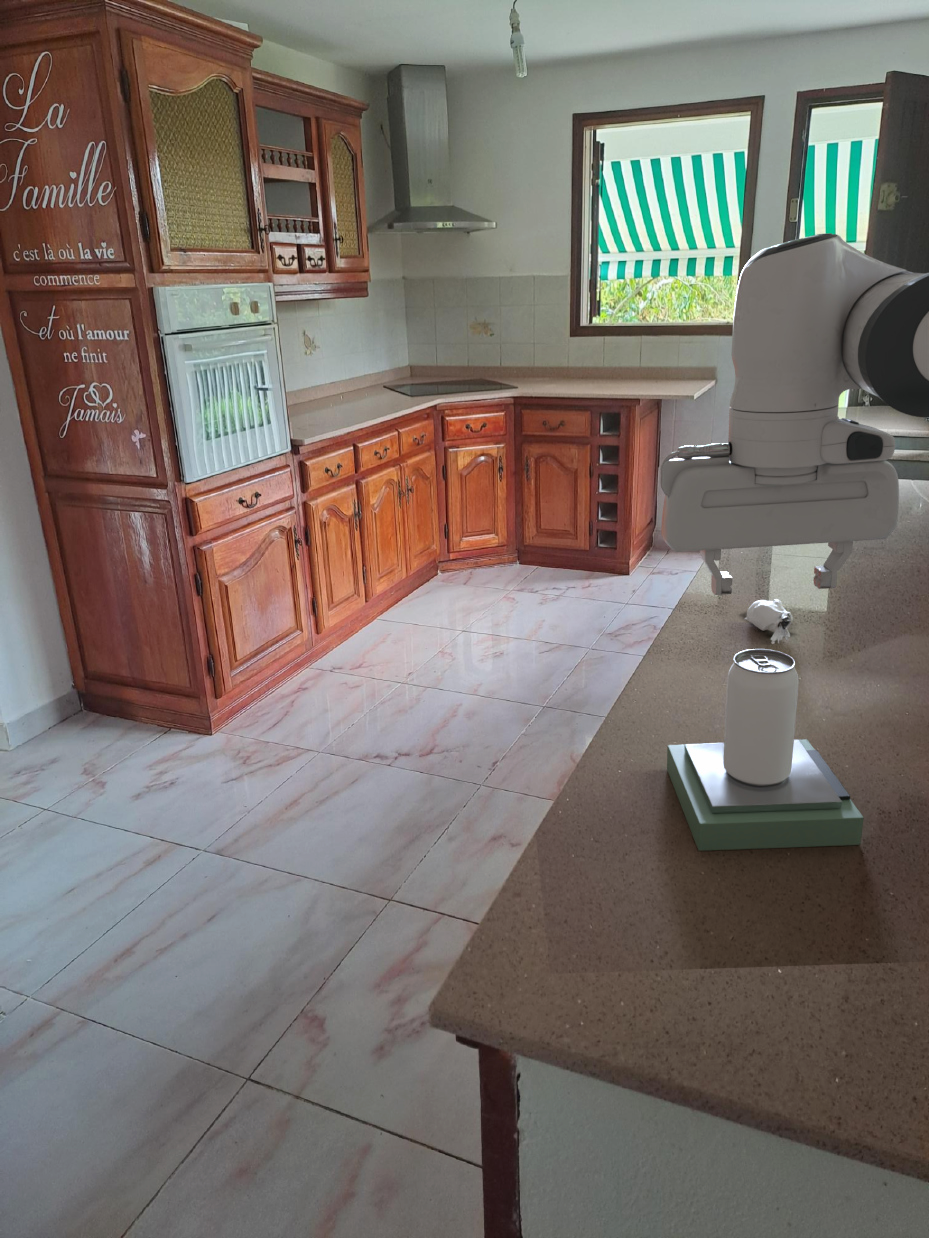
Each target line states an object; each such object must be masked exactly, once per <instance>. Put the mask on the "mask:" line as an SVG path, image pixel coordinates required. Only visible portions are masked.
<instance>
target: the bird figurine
mask: <svg viewBox="0 0 929 1238" xmlns="http://www.w3.org/2000/svg"><path fill="white" fill-rule="evenodd" d="M743 620H745V621H747V622H750V623H751V624H752V625H754V626H755V627H756V628H758V629H759V630H761V631H769V632H772V633H773V634H772V636H771V637H770V641H771V642H770V644H772V645H775V643H776V641H777V644H780V641H782V640H783V638H784V640H786V642H791V640H789V638H791V634H790V632H789V628H790V626H791V625H792V622H793V621H794V617H793V615H792V612H791V611H787V610H786V608H785V606H784V605H783V602H782V601H781V600H780V599H778V598H774V599H773V600H766V599H760V600H756V601H754V602H753V603H751V605H750V606H749V607H748V608H747V611H746V617H744V618H743Z"/></svg>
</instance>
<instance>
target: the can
mask: <svg viewBox="0 0 929 1238" xmlns="http://www.w3.org/2000/svg"><path fill="white" fill-rule="evenodd" d="M796 663H797V662H796V660H795V659H794V658H793V657H792V656H790V654H787V653H785V652H781V651H778V650H773V649H765V648H755V649H754V648H753V649H745V650H742V651H739V652H738V653H736V654H735V655H734V656H733V663H732V664H731V666H730V668H729V670H728V673H727V681H726V682H727V683H726V684H727V685H726V686H727V687H726V699H725V701H726V702H725V717H724V718H725V720H724V736H723V738H724V739H723V743H724V756H723V766H724V768H725V770H726V771H727V772H728V774H729V775H730V776H731V777H733V778H734V779H736V780H738V781H740V782H743V783H746V784H750V785H755V786H769V785H775V784H778V783H781V782H782V781H784V780H785V779H786V778H788V777H789V775H790V773H791V766H792V756H793V745H794V740H795V734H796V722H797V709H798V698H799V697H798V696H799V685H800V684H799V681H800V679H799V675H798V672H797V670H796V668H795V667H796Z"/></svg>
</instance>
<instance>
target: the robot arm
mask: <svg viewBox="0 0 929 1238" xmlns="http://www.w3.org/2000/svg"><path fill="white" fill-rule="evenodd" d="M735 295H736V296H735V302H734V310H733V321H732V332H731V333H732V335H731V360H732V365H733V367H734V376H735V378H734V387H733V391H732V393H731V397H730V399H729V413H728V418H729V419H728V442H723V443H722V442H721V443H711V444H706V445H697V446H696V445H695V446H694V445H684V446H680V447H678V448H677V450H676V451H673V452H671V453H669V454H668V455H667V456H666V457H665V458H664V459H663V461H662V463H661V466H660V488H661V491H662V493H663V494H664V500H663V505H662V506H663V507H662V515H661V526H660V528H661V529H660V531H661V532H660V533H661V537H662V540H663V541H664V542H665V544H666V545H667V546H668V547H669V548H670V549H671V550H672V551H674V552H675V553H685V552H699V556H700V558H701V560H702V561H703V562H704V564H705V566H706V568H707V570H708V571H709V573H710V575H711V577H710V579H711V580H710V581H711V583H710V587H711V588H710V589H711V592H712V594H713V595H714V596H723V595H732V592H733V588H732V587H731V586H732V585H733V576H732V575H731V574H730V573H729V572H728V571H721V570H720V569H719V567H718V565H717V564H716V562H715V561H717V562H718V561H720V560H721V559H722V558H721V557H722V550H733V549H748V548H750V549H751V548H766V547H782V546H797V545H798V546H799V545H815V544H827V546H828V547H829V548H830V549H832V550H831V551H830V553H829V555H828V556H827V558H826V560H825V561H824V563H823V565H815V566H814V568H813V575H814V576H813V585H814V587H816V588H817V589H818V590H827V589H835V588H836V586H837V582H838V581H837V580H838V572H839V571H840V570H841V568H842V567H843V566H844V565H845V563H846V562H847V560H848V559H849V558H850V556H851V555H852V553H853V547H854V546H853V545H854V542H860V541H861V542H862V541H863V542H864V541H876V540H877V541H878V540H886V539H888V538H889V537H890V536H891V535H892V534H893V532H894V531H895V530H896V528H897V525H898V523H899V510H900V484H899V476H898V472H897V470H896V468H895V466H894V465H893V464H892V463H891V462H889V461H888V460H889V459H891V458H892V457H893V456H894V454H895V449H896V438H895V437H894V435H891V434H890V433H888V432H886V431H884V430H881V429H879V428H876V427H873V426H870V425H867V424H862V423H860V422H859V421H856V420H853V419H850V418H846V417H842V418H840V417H839V405H840V404H839V403H840V396H841V395H842V394H843V393H844V392H845V391H849V390H864V391H865V392H867V393H869V394H871V395H873V396H876V397H878V398H879V399H881V401H882V402H883V403H885V404H886V405H887V406H889V407H890V408H891V409H893V410H895V411H897V412H900V413H902V414H903V415H904V414H905V415H908V416H911V417H917V418H924V419H925V418H926V419H928V418H929V272H926V273H923V272H922V273H921V272H912V271H909V270H907V269H904V268H901V267H897V266H895V265H893V264H889V263H886V262H884V261H881V260H878V259H877V258H875V257H872V256H870V255H867V254H865V253H864V252H862V251H860V250H858V249H857V248H855V247H854V246H852V245H850V244H849V243H847V241H845V240H844V239H843V238H842V237H841V235H839V234H836V233H819V234H818V233H817V234H813V235H810V236H805V237H802V238H797V239H793V240H790V241H786V242H782V243H779V244H774V245H772V246H770V247H765V248H763V249H761V250H759V251H758V252H757V253H756V254H754V255H753V256H752V257H751V258H750V259H749V260H748V261H747V262H746V264H745V265H744V267H743V269H742V270H741V273H740V276H739V280H738V283H737V288H736V294H735ZM675 457H677V458H675Z"/></svg>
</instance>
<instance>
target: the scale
mask: <svg viewBox="0 0 929 1238" xmlns="http://www.w3.org/2000/svg"><path fill="white" fill-rule="evenodd" d="M798 740H799V741H800V743H801V744H802V745H803V747H804V748H805V750H806V751H807V752H808V754H809V755H810V757H811V758H812V760H813V761H814V762H815V764H816V765H817V767H818V768H819V770H820V771H821V772H822V774H823V775H824V777H825V778H826V779H827V781H828V782H829V784H830V785H831V787H832V788H833V789H834V791H835V792H836V794H837V795H838V797H839V798H840V799H841V801H842V805H841V808H839V809H813V810H787V811H762V812H736V813H712V812H711V810H710V807H709V805H708V803H707V800H706V798H705V796H704V794H703V791H702V789H701V787H700V785H699V782H698V780H697V778H696V776H695V773H694V771H693V769H692V767H691V764H690V762H689V760H688V757H687V755H686V753H685V751H684V749H685V744H667V746H666V747H667V751H666V754H667V755H666V771H667V773H668V775H669V776H668V777H669V779H670V781H671V783H672V786H673V789H674V791H675V793H676V796H677V799H678V802H679V804H680V806H681V809H682V812H683V814H684V817H685V819H686V822H687V825H688V827H689V830H690V832H691V834H692V839H693V840H694V842H695V845H696V848H697V850H698V852H705V851H706V852H707V851H730V850H731V851H732V850H734V851H735V850H736V851H737V850H759V849H784V848H785V849H787V848H811V847H814V848H815V847H837V846H838V847H839V846H840V847H841V846H842V847H843V846H861V844H862V836H863V829H864V827H863V826H864V816H863V814H862V813H861V812H860V810H859V809H858V808H857V806H856V805H855V804H854V802H853V801H852V799H851V795H850V793H849V792H848V791H847V789H846V788H845V787H844V785H843V784H842V782H840V780H839V779H838V777H837V776H836V774H835V773H834V771H833V770H832V768H831V767H830V766H829V765H828V763H827V762H826V760H825V759H824V758H823V756H822V755H821V754H820V752H819V751H818V750H817V749H815V748H814V747H813V746H812V744H811V742H810V741H809V740H808V739H798Z"/></svg>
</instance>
